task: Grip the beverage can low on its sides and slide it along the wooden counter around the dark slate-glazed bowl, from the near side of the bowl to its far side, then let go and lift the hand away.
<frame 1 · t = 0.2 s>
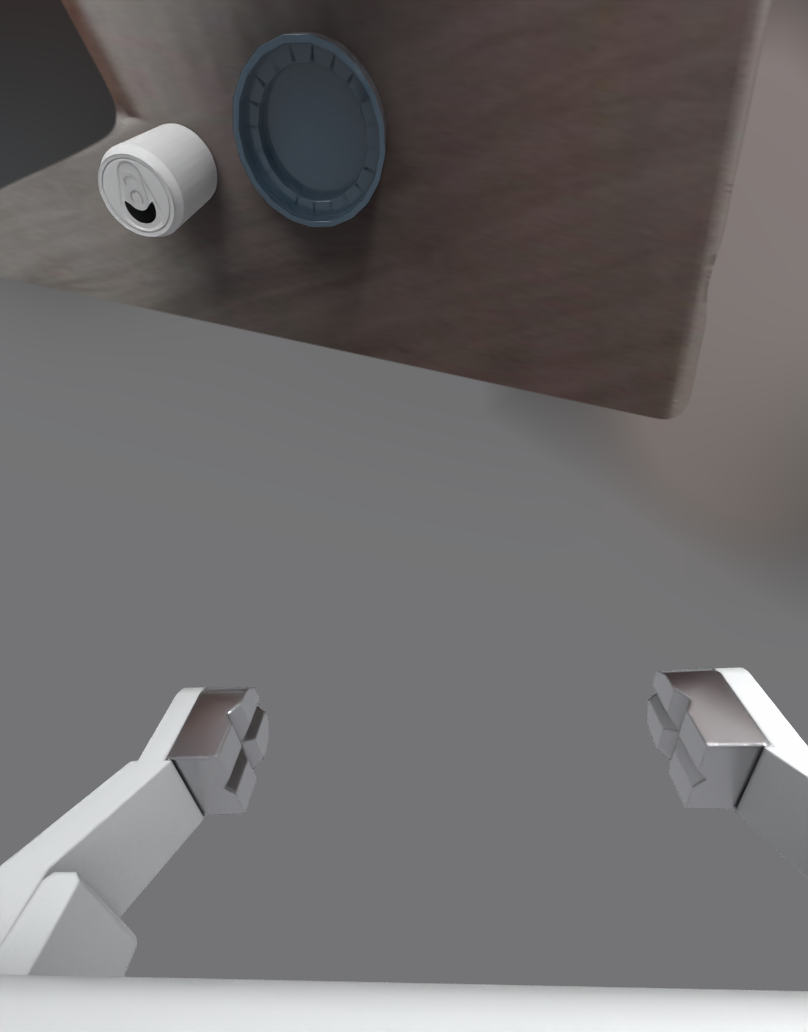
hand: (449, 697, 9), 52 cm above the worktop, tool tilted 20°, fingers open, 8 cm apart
beverage can: (186, 163, 45), on the worktop
bowl: (317, 132, 43), on the worktop
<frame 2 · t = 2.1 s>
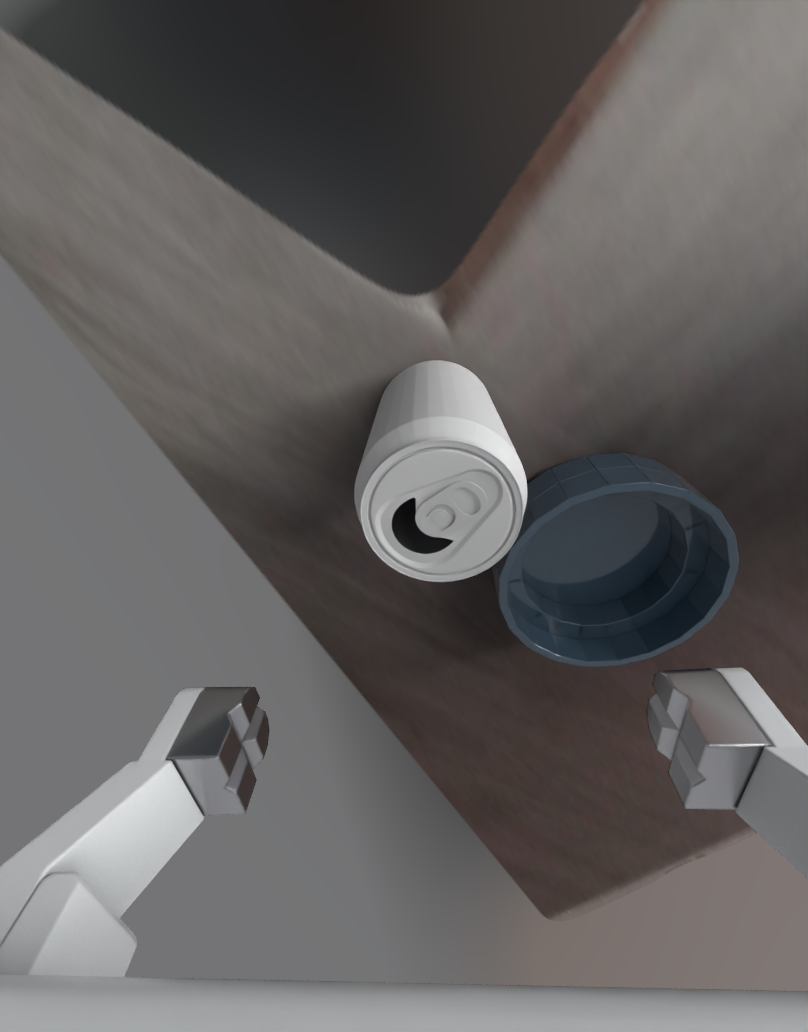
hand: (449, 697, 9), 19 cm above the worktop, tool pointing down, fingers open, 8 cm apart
beverage can: (434, 413, 26), on the worktop
bowl: (589, 543, 30), on the worktop
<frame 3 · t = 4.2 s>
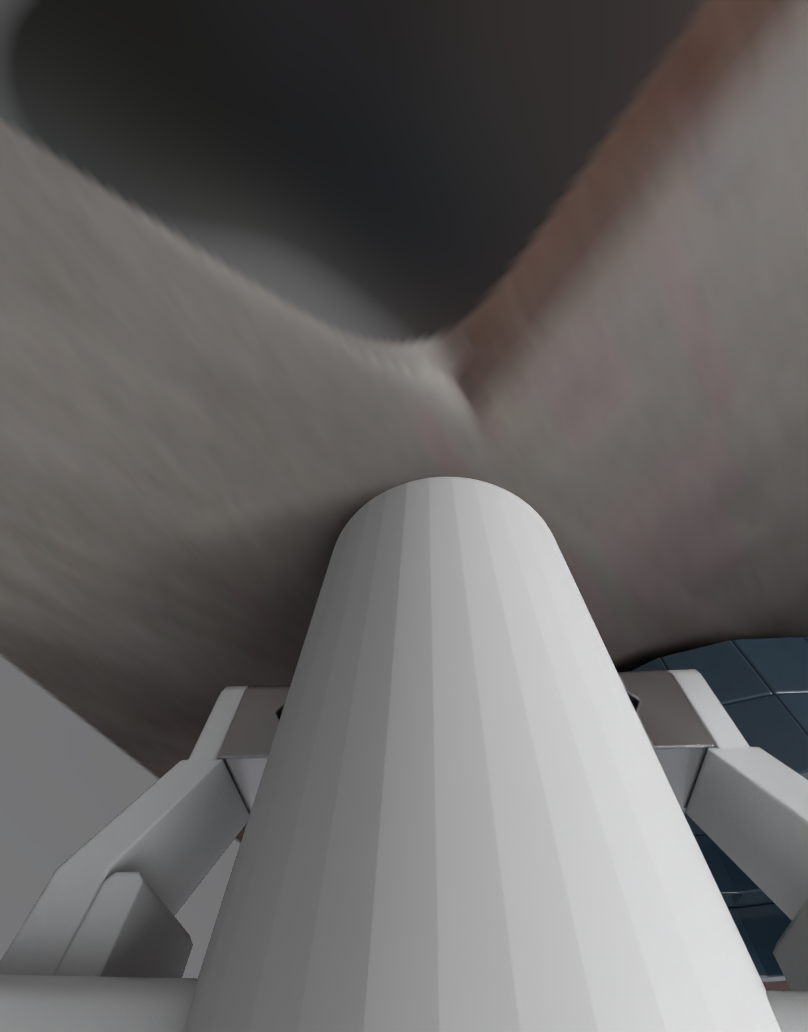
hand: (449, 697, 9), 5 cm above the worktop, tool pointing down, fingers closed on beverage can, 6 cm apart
beverage can: (443, 559, 14), on the worktop, touching gripper
bowl: (709, 754, 17), on the worktop
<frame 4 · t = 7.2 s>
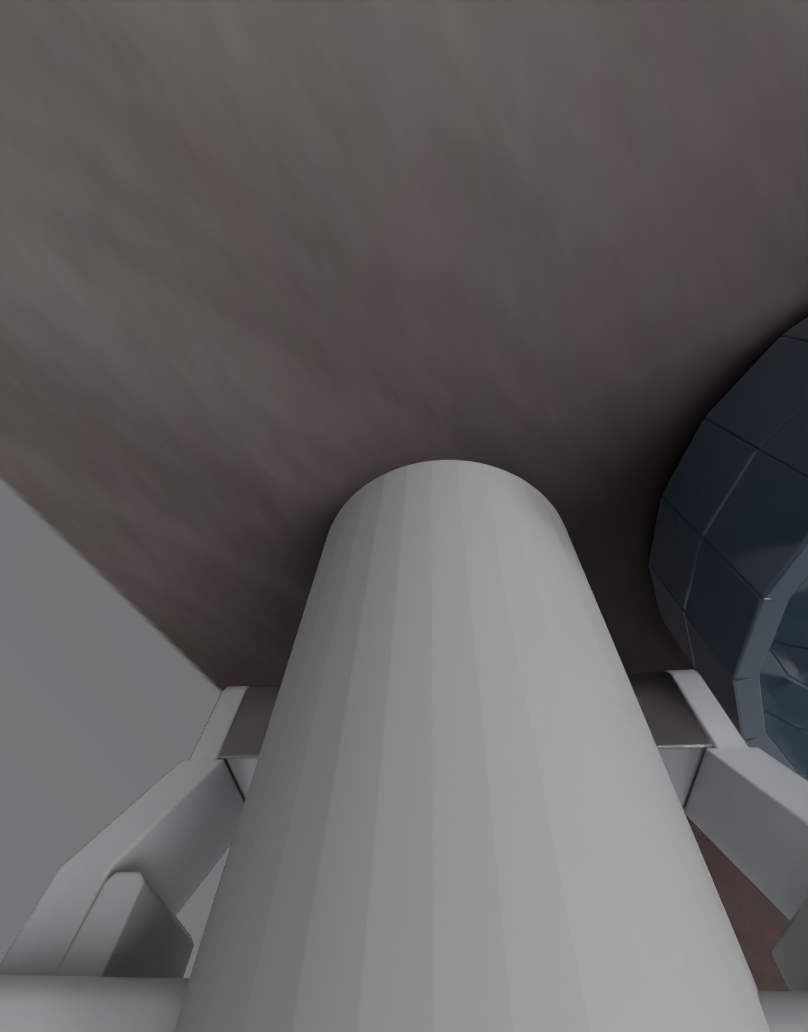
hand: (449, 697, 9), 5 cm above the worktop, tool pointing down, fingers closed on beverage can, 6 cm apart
beverage can: (445, 543, 13), on the worktop, touching gripper
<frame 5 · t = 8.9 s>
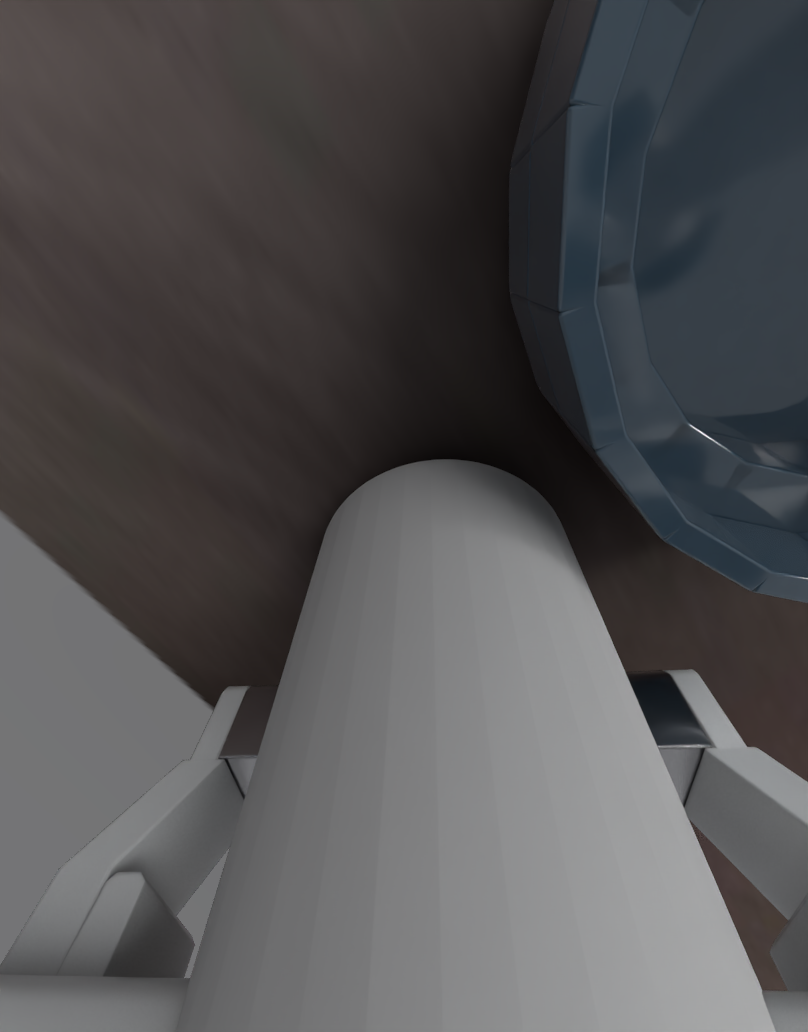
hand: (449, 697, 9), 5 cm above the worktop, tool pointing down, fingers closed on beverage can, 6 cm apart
beverage can: (442, 543, 13), on the worktop, touching gripper
when the fingers open (4 cm above the worktop, at t = 10.3 s): beverage can stays where it is, on the worktop.
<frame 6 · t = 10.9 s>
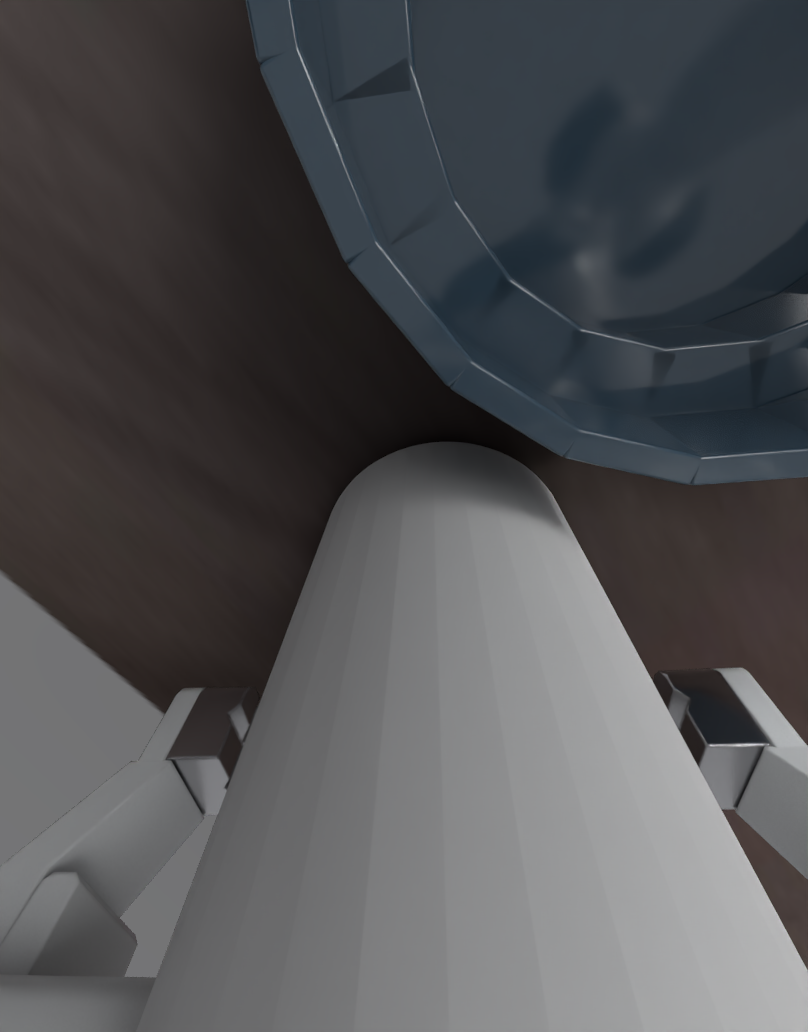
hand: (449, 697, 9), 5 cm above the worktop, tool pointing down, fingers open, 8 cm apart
beverage can: (443, 533, 13), on the worktop
bowl: (697, 21, 8), on the worktop
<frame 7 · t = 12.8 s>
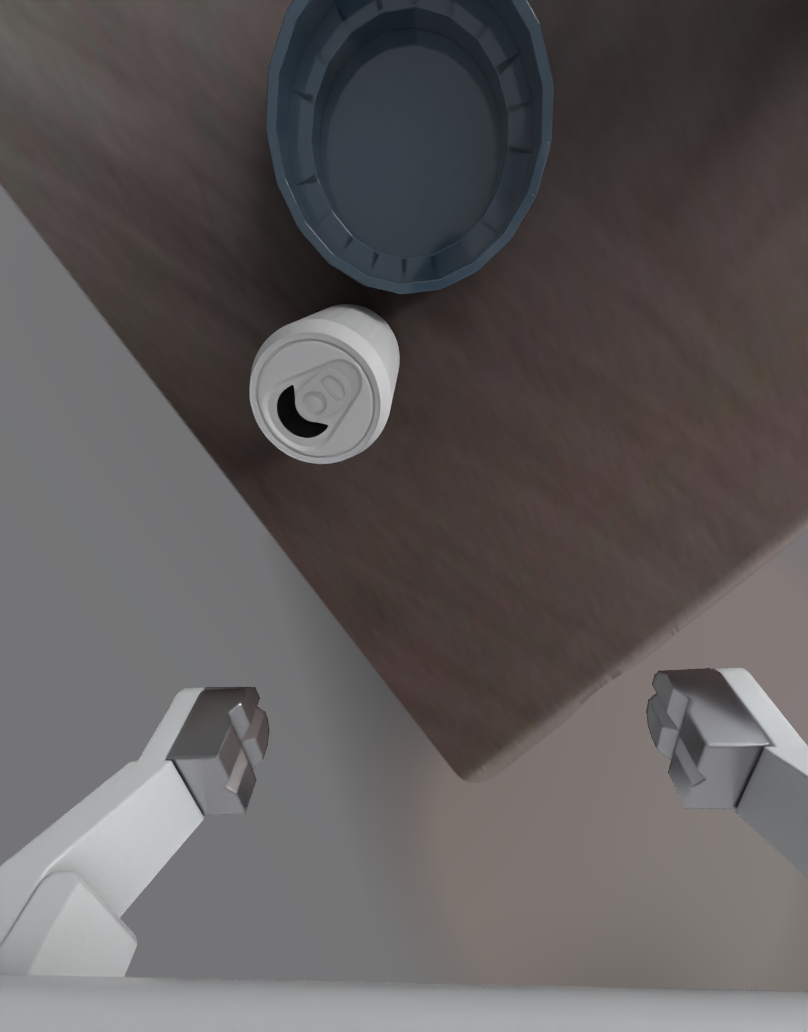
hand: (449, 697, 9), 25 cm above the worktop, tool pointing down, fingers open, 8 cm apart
beverage can: (352, 355, 30), on the worktop
bowl: (410, 156, 25), on the worktop
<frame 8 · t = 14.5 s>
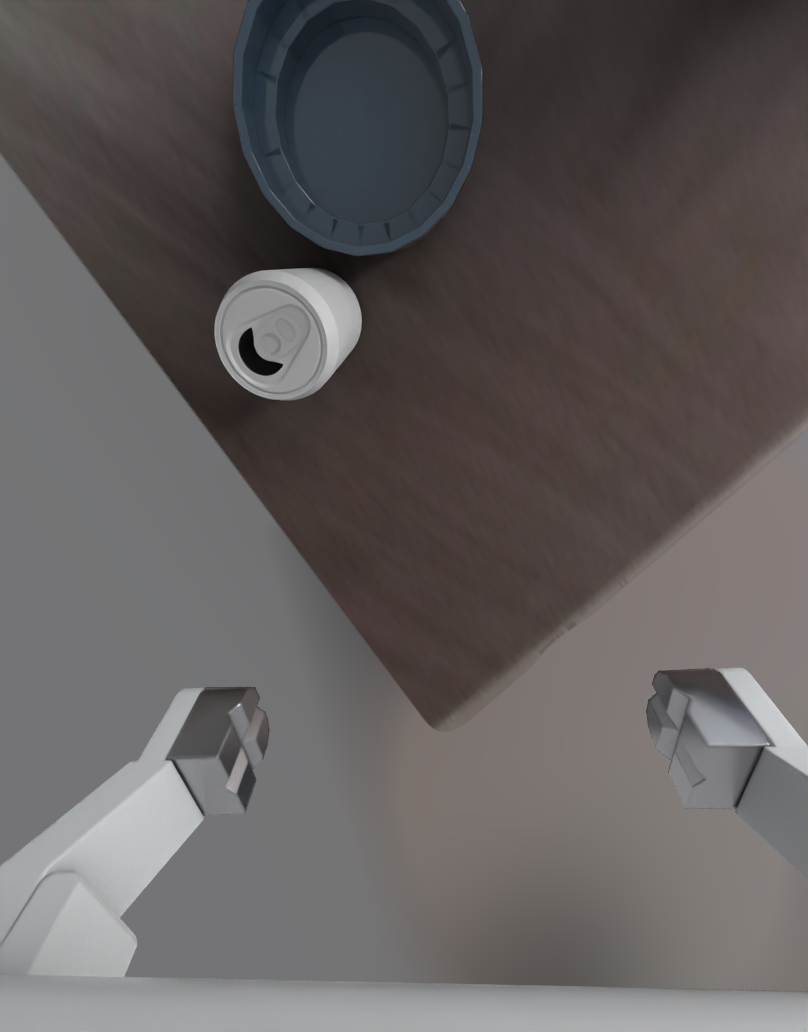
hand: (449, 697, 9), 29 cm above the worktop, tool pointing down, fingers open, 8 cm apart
beverage can: (320, 317, 33), on the worktop
bowl: (366, 132, 28), on the worktop
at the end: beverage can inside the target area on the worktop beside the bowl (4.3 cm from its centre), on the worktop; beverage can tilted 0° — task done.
